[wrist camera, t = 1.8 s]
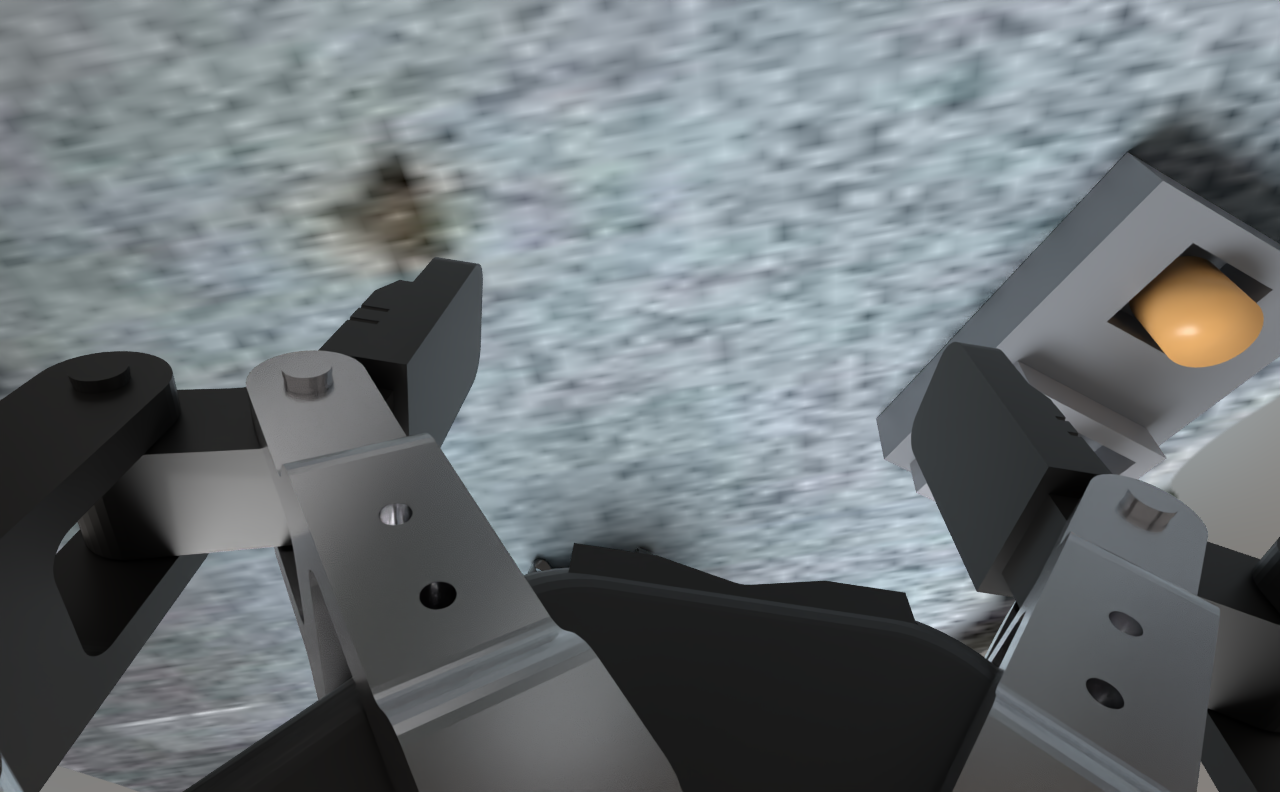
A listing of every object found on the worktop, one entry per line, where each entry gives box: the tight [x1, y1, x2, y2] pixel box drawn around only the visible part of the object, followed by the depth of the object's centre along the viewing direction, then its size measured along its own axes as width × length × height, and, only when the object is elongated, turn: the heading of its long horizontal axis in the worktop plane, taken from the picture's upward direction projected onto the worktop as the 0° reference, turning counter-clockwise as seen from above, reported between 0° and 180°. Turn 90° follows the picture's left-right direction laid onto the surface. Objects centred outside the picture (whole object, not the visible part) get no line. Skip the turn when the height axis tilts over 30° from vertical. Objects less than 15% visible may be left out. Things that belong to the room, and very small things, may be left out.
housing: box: [876, 152, 1280, 501], centre depth 39 cm, size 20×12×6 cm, turn 155°
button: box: [1129, 256, 1264, 368], centre depth 35 cm, size 4×4×4 cm
